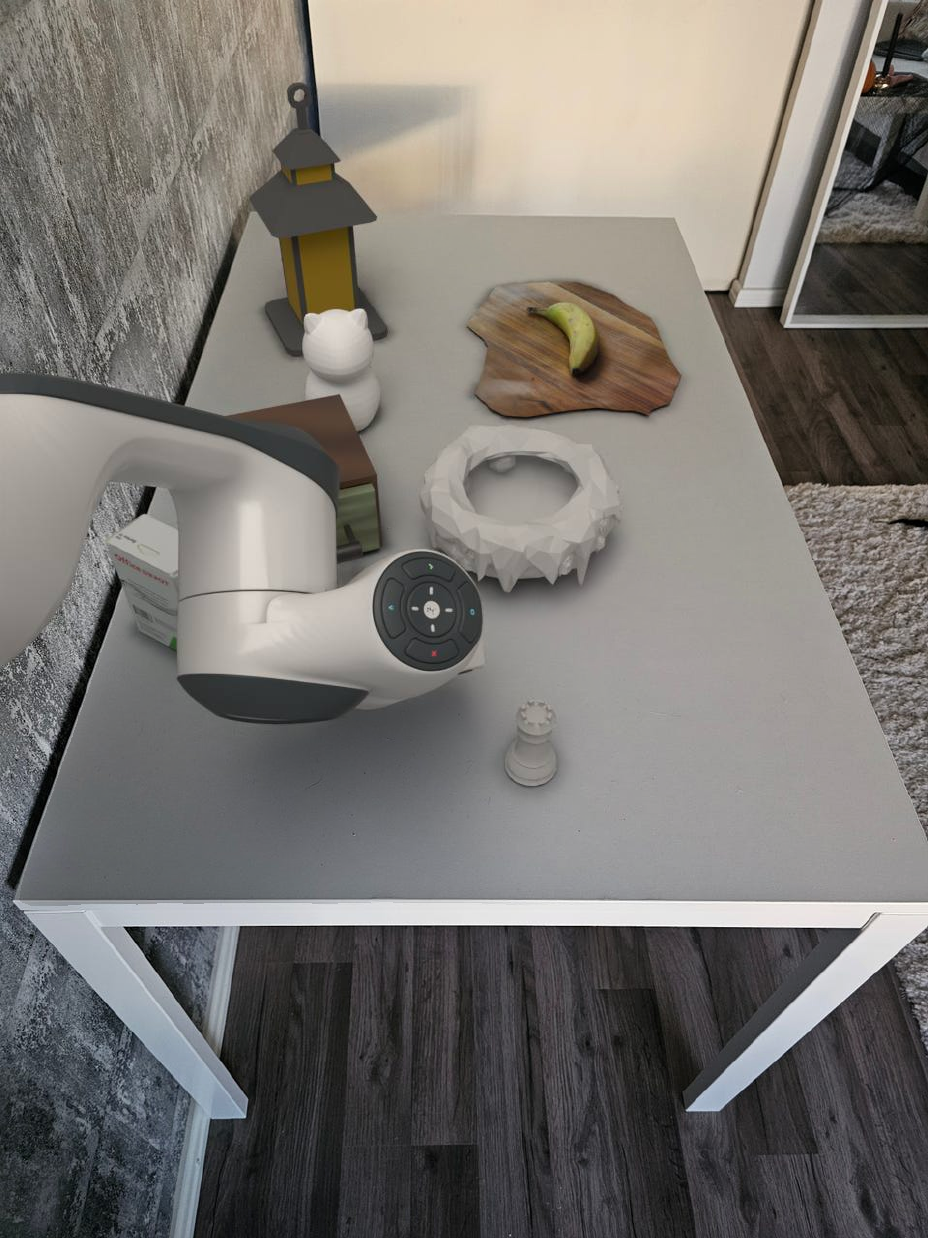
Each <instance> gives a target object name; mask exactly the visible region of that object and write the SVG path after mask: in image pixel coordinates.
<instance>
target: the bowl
mask: <svg viewBox="0 0 928 1238" xmlns="http://www.w3.org/2000/svg"><path fill="white" fill-rule="evenodd" d="M423 482H424V483H423V487H422V489H421V491H420V493H419V495H418V496H419V503H420V509H421V510H422V512H423V515H424V516H425V519H426V525H427V530H428V535H429V539H430V544H431V547H432V548H433V549H437V548H439V549H440V550H441V551H442V552H443V553H444V554H445V555H446V556H448V557H450V558H451V559H453V560H454V561H456V562H457V563H458V564H459V565H460V566H461V567H462V568H463V569H464V570H465V571H466V572H473V573H474V574H476V575H477V582H480V581H481V580H482V579H483V578H484V577H485V576H486V577H491V578H495V579H498V581H499V584H500V586H501V588H502V591H503V592H505V593H510V592H511V591H512V590H513V588H514V587H515V584H516V583H517V582H518V579H520V580H521V579H522V580H523V579H539V578H543V577H544V578H546V579H547V581H548V582H549V583H550V584H551V585H552V586H553V585H554V584H555V582H556V580H557V578H558V577H561V575H562V576H563V575H565V576H567V575H568V574H570V573H571V572H572V570H574V569H576V573H577V574H576V575H577V581H578V584H579V587H581V586H582V585H583V582H584V579H585V576H586V572H587V568H588V565H589V562H590V557H591V554H593V552H596V554H595V555H597V554H599V552H600V551H601V550H602V549H603V548H604V547H605V545H606V538H607V536H608V535H609V534H610V532H611V530H612V528H613V525H614V523H615V521H617V523H619V524H620V522H621V513H622V510H623V509H624V508H625V507H624V506H623V504H622V501H621V499H620V498H619V497H618V496H619V495H620V492H619V485H617V484H615V482H614V480H613V477H612V475H611V472H610V470H609V468H608V466H607V463H606V461H605V459H604V458H603V456H602V455H601V453H600V452H599V451H598V450H597V449H596V448H595V447H594V446H593V445H592V444H590V443H579V442H577V441H575V440H572V439H571V438H568V437H566V436H564V435H562V434H560V433H559V434H558V433H555V432H553V431H549V430H546V429H539V428H530V427H525V426H520V425H514V424H505V425H498V426H495V425H474V424H473V425H469V426H468V427H467V428H466V429H465V430H463V432H462V433H461V434H459V436H458V437H456V438H455V439H454V440H453V441H452V442H451V443H449V444H448V445H446V446H445V447H444V448H443V449H441V450H440V451H439V452H437V453H436V456H435V459H434V462H433V463H432V464H431V466H430V467H429V468H428V469H427V470H426V472H425V473H424V474H423Z"/></svg>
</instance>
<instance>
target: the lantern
mask: <svg viewBox="0 0 928 1238" xmlns="http://www.w3.org/2000/svg"><path fill="white" fill-rule="evenodd" d="M299 90H300V91H301V90H302V91H303V92H304V95H303V98H302V99H301V100H300V101H299V100H296V99H295V95H296V92H297V91H299ZM286 95H287V102H288V103H289V105H290V107H291V108H292V109H294V110H295V113H296V123H297V127H295V128H292V129H291V130H290V131H289V132H288V133H287V135H285V137H283V139H282V140H281V141H280V142H279V143H278V144H277V145H276V146H275V147H274V148H273V149H272V153H273V154H274V156H275V157H276V158H277V160H278V161H279V163H280V170H279V171H278V172H277V173H275V174H274V175H273V176H272V177H270V178H269V179H268V180H267V181H266V182H265V183H263V185H261V186H260V187H258V189H257V190H255V191H254V192H253V193H252V194H250V196H249V197H248V200H249V202H250V204H251V205H252V207H253V208H254V210H255V212H256V214H258V216H259V218H260V220H261V221H262V223H263V224H264V226H265V227H266V229H267V231H268V232H269V234H270V236H271V237H274V238H277V239H278V242H279V248H280V249H279V250H280V255H281V263H282V270H283V277H284V284H285V291H286V297H283V298H277V299H271V300H269V301H267V302H265V304H264V306H263V307H264V312H265V314H266V316H267V318H268V320H269V322H270V324H271V326H272V328H273V329H274V331H275V333H276V334H277V337H278V338H279V340H280V342H281V344H282V346H283V347H284V350H285V352H286V354H288V355H290V356H292V357H304V355H303V350H302V342H303V337H304V334H305V329H304V317H305V316H306V314H309V313H315V314H318V315H319V314H321V313H323V312H325V311H328V310H332V309H341V310H345V311H349V312H351V311H353V310H355V309H364V311H365V312H366V314H367V318H368V326H367V327H368V329H369V330H370V333H371V335H372V339H373V341H377V340H382V339H384V338H386V337H387V334H388V329H387V328H388V327H387V325H386V323H385V322H384V321H383V319H382V318H381V316H380V314H378V312H377V311H376V309H375V307H374V306H373V305H372V303H371V302H370V300H369V299H368V298H367V296H366V295H365V294H364V292H363V290H362V289H361V288H360V286H359V282H358V281H359V280H358V271H357V259H356V258H357V257H356V246H355V244H356V243H355V235H354V232H355V231H354V227H355V226H359V225H367V224H371V223H373V222H376V221H378V215H377V214H376V213H375V212H374V211H373V209H372V208H371V207H370V206H369V204H368V203H367V202H366V201H365V200H364V199H363V197H362V196H361V195H360V194H359V192H358V191H357V189H355V187H354V186H353V185H352V183H350V182H349V181H348V180H346V179H345V178H344V177H343V176H341V175H340V174H338V173H337V172H336V167H335V166H336V165H335V164H337V163H340V162H341V159H340V157H339V156H338V155H337V153H336V152H335V151H334V149H332V147H331V146H330V145H329V144H328V143H327V142H326V141H325V140H324V139H323V138H322V137H321V136H320V135H319V134H318V133H316V132H315V131H314V129H313V128H311V127H310V126H309V124H308V115H307V114H308V113H307V108H309V107H311V105H312V102H313V101H312V100H313V99H312V91H311V89H310V87H309V86H308V85H307V84H306V83H304V82H301V81H299V82H293V83H291V84H290V85H288V87H287V89H286Z"/></svg>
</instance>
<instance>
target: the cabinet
mask: <svg viewBox="0 0 928 1238" xmlns="http://www.w3.org/2000/svg"><path fill="white" fill-rule="evenodd" d="M226 416H227V417H232V418H240V419H249V420H258V421H267V422H274V423H281V424H286V425H290V426H294V427H297V428H300V429H302V430H304V431H305V432H306V433H308V434H309V435H310V436H312V437H313V438H314V439H315V440H316V441H317V442H318V443H319V444H320V445H321V446H322V447H323V448H324V449H325V450H326V451H327V452H328V453H329V455H330V456H331V457H332V458H333V460H334V461H335V462H336V464H337V465H338V467H339V470H340V484H339V489H341V488H346V487H350V486H355V485H359V484H362V485H365V484H370V483H372V485H373V487H374V489H375V496H376V508H377V521H378V533H379V545H380V547H383V535H382V534H383V533H382V521H381V509H380V496H379V485H378V474H377V471H376V470H375V467H374V465H373V463H372V461H371V459H370V456H369V454H368V451H367V450H366V448H365V446H364V443H363V441H362V439H361V437H360V435H359V433H358V431H357V430H356V428H355V426H354V424H353V422H352V420H351V417H350V415H349V413H348V411H347V409H346V407H345V404H344V402H343V400H342V398H341V396H340V394H337V395H332V396H327V397H322V398H316V399H311V400H306V399H305V400H301V401H297V402H296V401H295V402H290V403H285V404H281V405H274V406H270V407H266V408H259V409H254V410H248V411H244V412H238V413H233V414H228V415H226Z"/></svg>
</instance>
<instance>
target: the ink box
mask: <svg viewBox="0 0 928 1238" xmlns="http://www.w3.org/2000/svg"><path fill="white" fill-rule="evenodd" d="M105 545H106V548H107V551H108V553H109V556H110V558H111V561H112V563H113V566H114V569H115V571H116V574H117V576H118V579H119V581H120V584H121V587H122V589H123V592H124V595H125V598H126V600H127V603H128V606H129V608H130V611H131V613H132V616H133V619H134V621H135V624H136V626H137V629H138V631H139V632H141V633H142V634H144V635H146V636H148V637H150V638H152V639H153V640H155V641H157V642H159V643H161V644H162V645H164V646H166V647H168V648H170V649H172V650H174V651H176V652H177V607H178V528H175V527H173V526H171V525H169V524H166V523H165V522H163V521H161V520H159V519H157V518H155V517H153V516H151V515H148V514H146V513H142V514H141V515H140V516H138V517H137V518H135V519H133V520H132V521H130V522H129V523H128V524H126V525H124V526H123V527H121V528H120V529H119V530H117V531H116V532H115V533H113V534H112V535H111V536H109V537H108V538H106V539H105Z"/></svg>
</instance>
